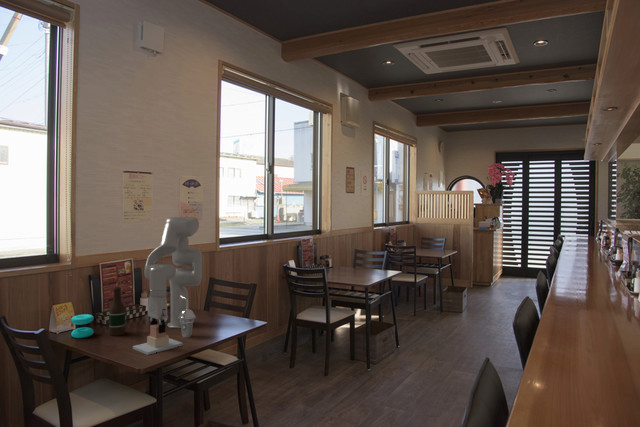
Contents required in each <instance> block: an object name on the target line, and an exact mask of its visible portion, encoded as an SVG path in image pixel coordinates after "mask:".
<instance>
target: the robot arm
mask: <svg viewBox="0 0 640 427" xmlns="http://www.w3.org/2000/svg"><path fill="white" fill-rule="evenodd" d="M199 226H200V223H199V219H198V218H197V217H195V216H172V217H171V216H170V217H168V218H167V219H166V220H165V224H164V226H163V231H162V235H161V240H160V244H159V245H158V246H157V247H156V248H155V249H153V250H152V252H151V253H150V254H148V257H147V258H146V262H145V266H144V272H143V273H144V277H145V278H146V279H147V280H148V281H149V297H148V302H147V316H148V317H149V323H150V326H151V325H155V324H160V325H159V333H164V332H166V333H167V331H166V330H167V329H166V326H167V327H168V328H170V329H181V323H180V319H179V318H178V316H179V315H180V313H181V311H183V310H184V309H186V299H183V298H181V297H180V296H182V297H185V298H187V299H188V304H189V298H190V296H189V292H188V289H187V288H186V287H188V286H189V287H191V286H192V287H194V286H199V285H200V284H202V283H201V282H202V279H203V254H202V251H201V250H200V249H199V248H190V247H189V242H190V241H189V240H190V239H189V238H190V237H193V236H194V235H195V234H196V233H197V232H198V230H199ZM171 254H172V257H171V258H172V260H171V261H172V264H169V263H156V262H158V260H160V259H161V258H163V257H166V256H169V255H171ZM174 265H175V266H179V267H180V266H181V267H182V268H179V267H177V268H176V267H175V266H174ZM186 266H187V267H188V268H186ZM189 266H190V268H189ZM167 281H168V282H167ZM168 283H169V288H170V289H169V292H170V322H168V320H169V315H168V300H167V295H168V294H167V293H168V292H167V284H168ZM196 319H197V317H196V315H195V318H194V320H196ZM167 322H168V323H167ZM166 324H167V325H166Z"/></svg>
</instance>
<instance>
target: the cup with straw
mask: <svg viewBox="0 0 640 427" xmlns="http://www.w3.org/2000/svg"><path fill="white" fill-rule="evenodd" d="M180 297H181V298H183V299H186V309H184V310H183V311H181V313H180V315H179V316H178V318H179V319H180V323H181V328H180V330H181V335H182V336H181V337H182V338H184V339H185V338H190V337H192V333H193V325H194V321H195V319H194V318H195V316H196V314H195V313H194V312H193V310H191V309H190V308H189V303H188V299H187V298H185V297H182V296H180Z"/></svg>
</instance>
